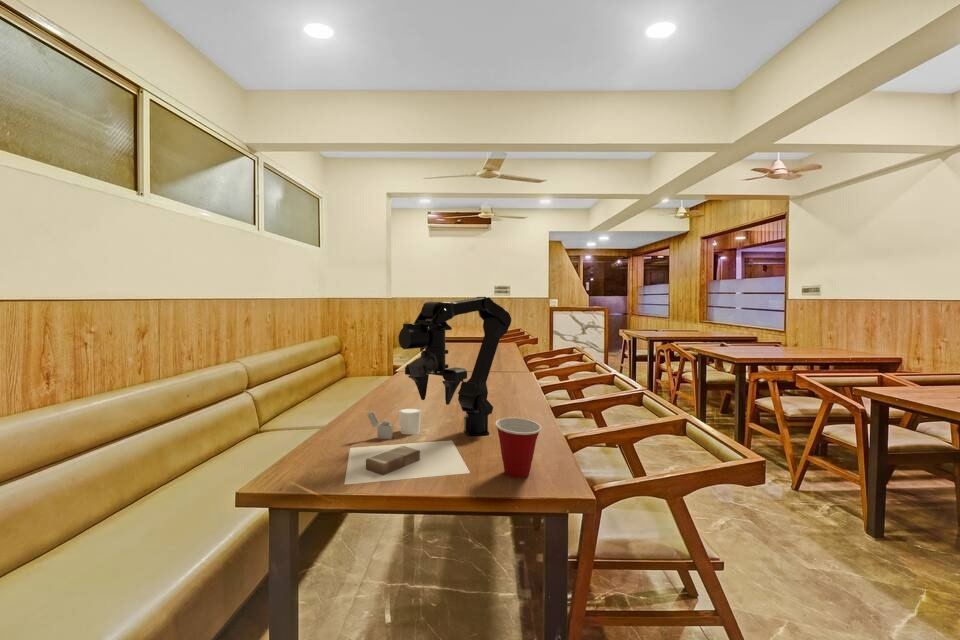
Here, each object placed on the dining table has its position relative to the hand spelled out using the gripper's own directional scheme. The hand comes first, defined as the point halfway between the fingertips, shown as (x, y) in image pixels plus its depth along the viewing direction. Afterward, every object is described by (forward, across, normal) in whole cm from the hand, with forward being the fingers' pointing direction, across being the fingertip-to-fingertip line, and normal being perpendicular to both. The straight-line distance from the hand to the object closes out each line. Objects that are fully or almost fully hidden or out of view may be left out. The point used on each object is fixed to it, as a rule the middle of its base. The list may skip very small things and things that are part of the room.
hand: (435, 402), depth 121 cm
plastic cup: (+12, +29, -4) cm, 32 cm away
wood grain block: (+10, +3, -12) cm, 16 cm away
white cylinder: (+12, -13, +3) cm, 18 cm away
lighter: (+12, -16, -6) cm, 21 cm away
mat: (+12, +3, -14) cm, 19 cm away
